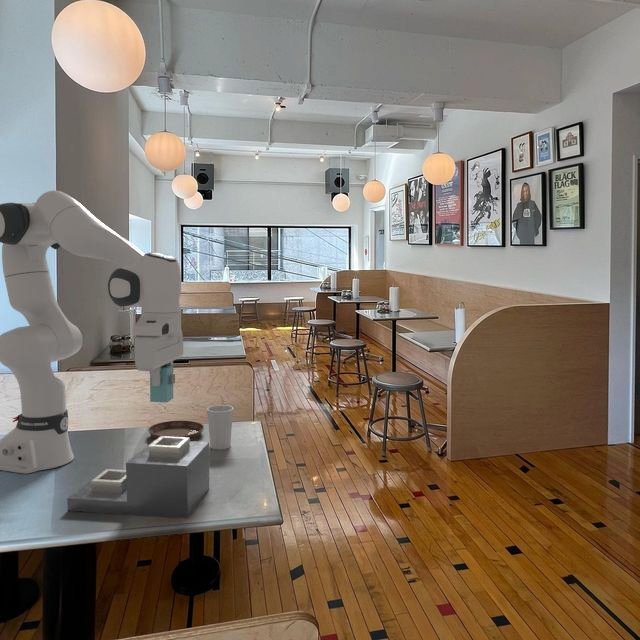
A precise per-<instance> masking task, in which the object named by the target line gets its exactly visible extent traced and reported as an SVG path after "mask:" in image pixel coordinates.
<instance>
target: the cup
mask: <svg viewBox="0 0 640 640" xmlns="http://www.w3.org/2000/svg"><path fill="white" fill-rule="evenodd" d="M206 413H207V420H208V432H209V433H208V434H209V449H211V448H213V449H212V450H215V449H223V450H227V449H229V448H231V442H232V440H231V439H232V426H233V415H234V407H233V406H231V405H225V404H222V405H219V404H217V405H212V406H209V407H207V409H206ZM226 448H227V449H226Z"/></svg>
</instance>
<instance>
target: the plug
mask: <svg viewBox="0 0 640 640" xmlns="http://www.w3.org/2000/svg"><path fill="white" fill-rule="evenodd" d="M160 377H162V384H161V385H159V386H153V385H152V378H151V375H150V374H149V396H150V397H149V399H150V400H149V402H150V403H165V404H166V403H169V402H170V401H171V400H173V399H174V384H175V383H176V374H175V373H174V364H173V365H167V364H165V365H163V366H161V371H160Z"/></svg>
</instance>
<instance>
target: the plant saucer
mask: <svg viewBox="0 0 640 640" xmlns="http://www.w3.org/2000/svg"><path fill="white" fill-rule="evenodd" d="M204 429H205V426H204V424H202V423H200V422H197V421H193V420H170V421H169V420H168V421H167V420H166V421H163V422H157V423H155V424H153V425H150V427H148V429H147V431H148V433H149V435H150V436H151V437H152V438H153V439H154V440H157V439H158V438H159V437H160V436H169V437H190V441H192V440H191V439H193V440H195V439H197V438H198V437H199V436H200V435H201V434H202V432H203V430H204ZM191 430H192V431H193V430H196V431H198V432H197V433H194V434H190V435H188V433H189V432H192V431H191ZM196 437H197V438H196ZM194 438H195V439H194Z"/></svg>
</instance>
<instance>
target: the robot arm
mask: <svg viewBox="0 0 640 640" xmlns="http://www.w3.org/2000/svg"><path fill="white" fill-rule="evenodd" d="M0 243H1V244H2V246H1V261H2V262H1V264H2V271H3V276H4V282H5V286H6V291H7V296H8V301H9V305H10V307H12V309H14V310H15V311H17V312H18V313H19V314H21V315H22V316H23V317H24V319H25V320H26V321H27V323H28V325H25V326H18V327H16V328H13V329H10V330H8V331H5V332H3V333H1V334H0V363H1V365H3V366H5V368H8V369H9V370H10V371H11V372H12V373H13V376H14V377H15V379H16V380H17V384H18V387H19V392H20V393H19V395H20V404H21V413H20V414H18V415H17V416H15V417H12V423H15V422H17V423H16V425H15V427H14V428H13V429H12V430H11V431H9V432H7V434H5V435H4V436H3V437H1V438H0V471H5V472H12V473H18V474H31V473H35V472H38V471H43V470H49V469H54V468H58V467H62V466H65V465H66V464H68V463H70V462H72V461H73V459H74V458H75V455H74V453H73V450H72V446H71V443H70V438H69V432H68V431H69V430H68V429H69V412H68V409H67V402H66V401H67V400H66V398H67V395H66V384H65V382H64V381H63V380H62V379H60V378H59V377H56V375H55V374H54V372H53V369H52V363H54V362H58V361H62V360H66V359H68V358H70V357H72V356H74V355H76V353H78V352H79V351H80V350H81V349H82V346H83V342H84V341H83V340H84V339H83V335H82V332H81V331H80V329H79V328H78V326H77V325H75V324H73V323H72V321H70V320H69V319H68V318H67V316H66V315H65V314H64V313H63V311H62V308H61V307H60V306H59V303H58V301H57V298H56V296H55V291H54V287H53V283H52V278H51V274H50V269H49V265H48V262H47V251H48V250H49V248H50V247H51V248H52V249H53V250H58V249H60V248H62V249H64V250H65V251H66V252H68V253H70V254H73V255H74V256H77V257H85V258H91V259H96V260H97V259H98V260H104V261H108V262H112V263H114V264H116V265H119V266H121V267H119V268H116V269H115V270H114V271H113V272H111V274H110V276H109V278H108V281H107V291H108V295H109V297H110V299H111V300H112V302H113V303H114V304H115V305H116V306H118V307H121V308H128V309H129V308H141V309H140V310H141V311H140V317H139V319H138V320H137V321H136V323H135V324H134V325H133V326H132V335H133V336H135V338H134V343H133V346H134V350H133V351H134V364H135V368H136V370H137V371H140V372H149V376H150V375H151V378H152V385H153V386H159V385H161V384H162V377H160V371H161V366H163V365H165V364H167V365H173V366H174V361H176V360H177V359H180V358H181V357H183V355H184V337H183V336H184V335H183V331H182V309H181V308H182V307H181V304H180V299H181V294H182V277H181V276H182V275H181V267H180V264H179V261H178V259H177V258H176V257H174V256H172V255H169V254H167V253H159V252H147V253H145V252H143V251H142V250H141V249H139V248H138V247H137V246H136V245H134V244H133V243H132V242H131V241H129V240H128V239H126V238H125V237H124V236H122V235H120V234H119V233H117V232H116V231H114V229H111V228H110V227H109V226H108V225H106V224H105V223H104V222H102V221H101V220H100V219H98V218H97V217H96V216H95V215H94V214H92V213H91V212H90V211H89V210H88V209H87V208H86V206H84V205H82V204H81V202H79V201H78V200H76V199H75V198H73V197H72V196H70V194H67V193H66V192H63V191H60V190H55V189H54V190H48V191H46V192H44V193H42V194H41V195H40V196H39V197H38V198H37V200H36V201H35V202H32V203H31V202H29V203H28V202H20V203H18V202H4V203H0Z"/></svg>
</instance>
